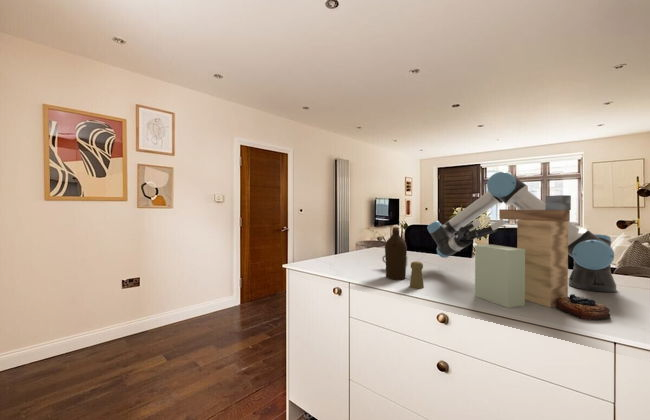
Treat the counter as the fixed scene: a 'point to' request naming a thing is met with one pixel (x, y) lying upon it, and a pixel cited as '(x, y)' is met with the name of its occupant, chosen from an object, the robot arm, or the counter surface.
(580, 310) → the pastry
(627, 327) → the counter surface
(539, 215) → the beam
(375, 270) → the counter surface
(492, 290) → the sage green upright block
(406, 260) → the teacup
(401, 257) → the olive oil
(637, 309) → the counter surface
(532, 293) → the oak stand
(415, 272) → the cork
